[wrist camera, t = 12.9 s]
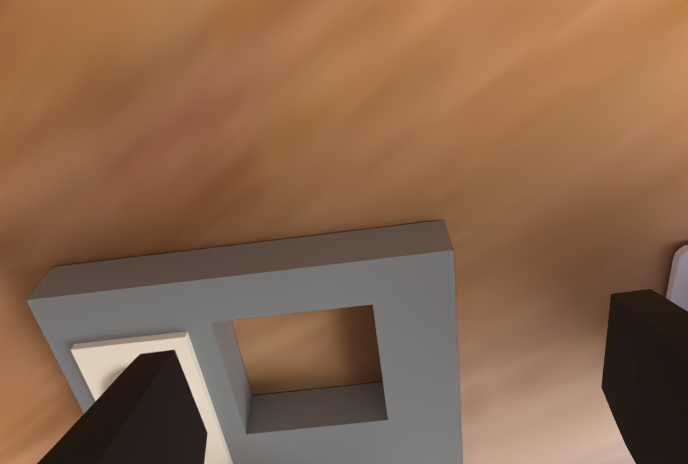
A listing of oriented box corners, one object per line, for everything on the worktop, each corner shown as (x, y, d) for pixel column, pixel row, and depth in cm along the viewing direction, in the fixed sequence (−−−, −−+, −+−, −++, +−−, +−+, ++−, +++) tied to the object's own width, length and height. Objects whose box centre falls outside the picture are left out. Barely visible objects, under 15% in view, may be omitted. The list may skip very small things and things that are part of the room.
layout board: (443, 220, 19) (456, 258, 17) (459, 532, 28) (469, 584, 26) (52, 266, 20) (18, 309, 18) (187, 557, 29) (175, 609, 27)
